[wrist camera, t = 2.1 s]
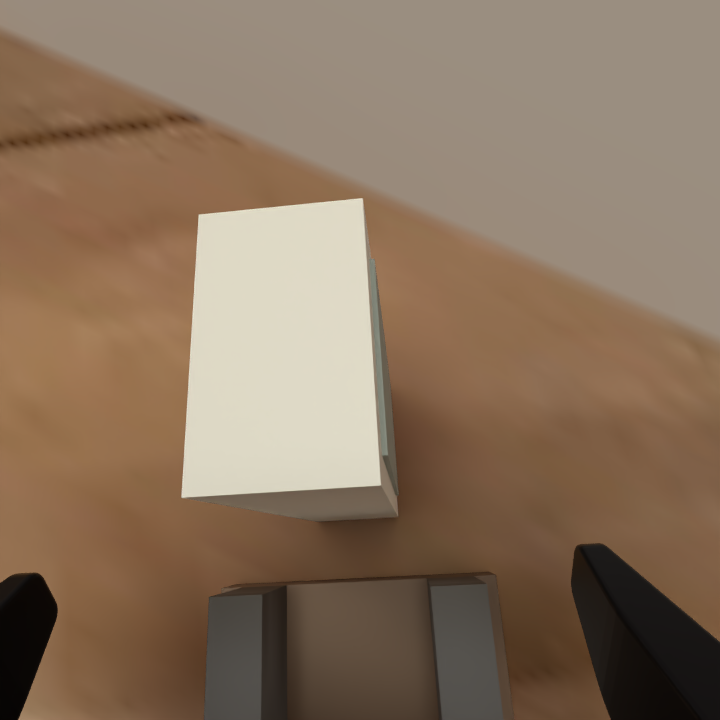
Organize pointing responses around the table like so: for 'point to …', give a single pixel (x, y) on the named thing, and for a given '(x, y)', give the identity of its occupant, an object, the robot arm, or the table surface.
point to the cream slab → (289, 367)
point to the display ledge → (358, 650)
